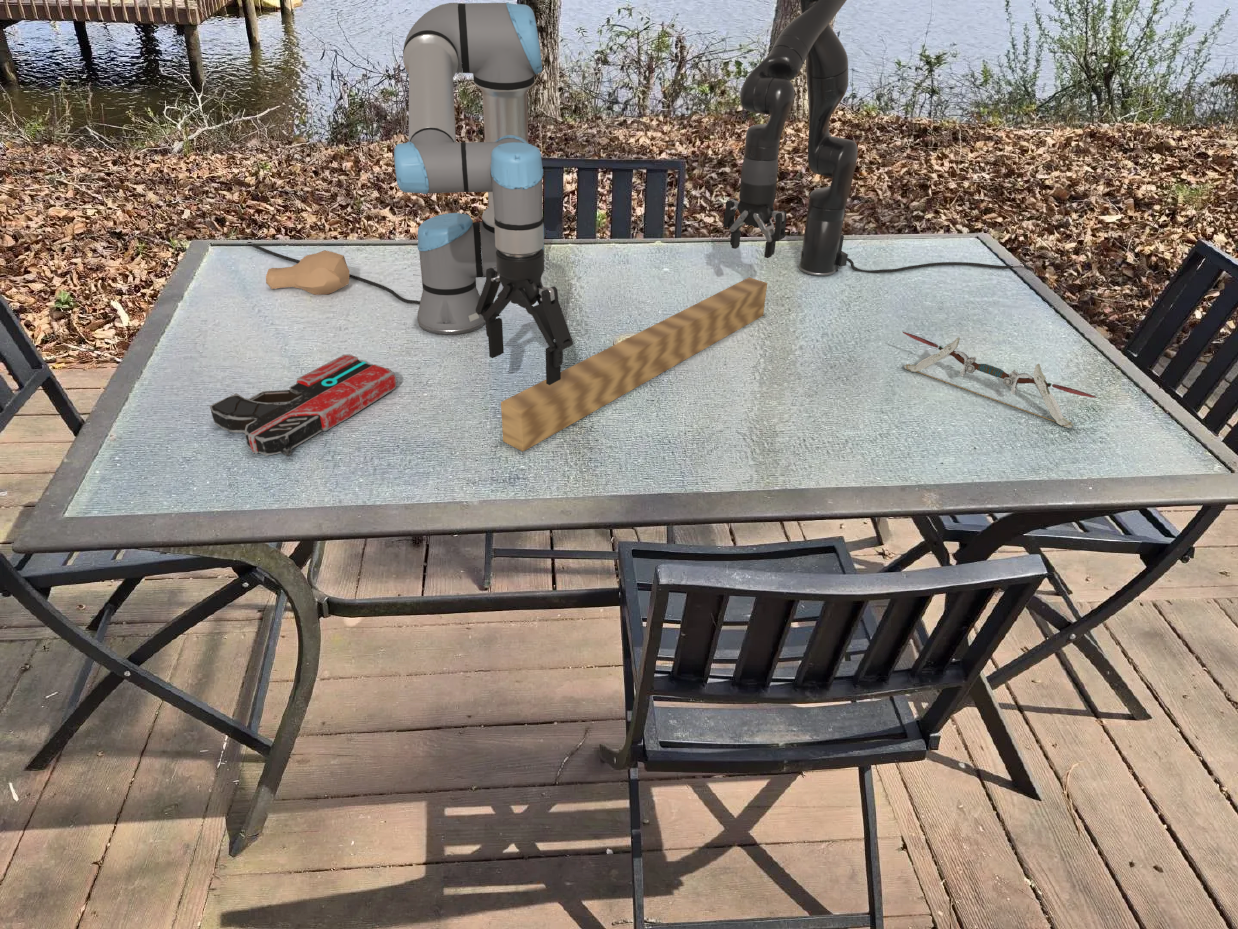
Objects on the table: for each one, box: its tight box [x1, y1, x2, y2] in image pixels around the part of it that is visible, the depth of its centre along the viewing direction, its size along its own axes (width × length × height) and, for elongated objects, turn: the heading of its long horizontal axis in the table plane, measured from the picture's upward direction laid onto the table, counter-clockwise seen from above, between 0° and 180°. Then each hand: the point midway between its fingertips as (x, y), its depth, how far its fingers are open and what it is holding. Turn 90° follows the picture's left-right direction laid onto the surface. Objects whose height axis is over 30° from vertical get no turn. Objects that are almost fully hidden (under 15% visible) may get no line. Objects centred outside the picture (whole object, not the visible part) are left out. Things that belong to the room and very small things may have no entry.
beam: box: [500, 277, 768, 452], centre depth 178 cm, size 79×5×8 cm, turn 140°
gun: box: [209, 353, 398, 457], centre depth 162 cm, size 4×31×19 cm
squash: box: [265, 250, 350, 296], centre depth 208 cm, size 11×20×9 cm, turn 90°
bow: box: [901, 330, 1097, 429], centre depth 171 cm, size 39×2×10 cm, turn 47°
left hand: (524, 368), depth 149 cm, fingers open, 13 cm apart
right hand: (751, 252), depth 193 cm, fingers open, 8 cm apart
